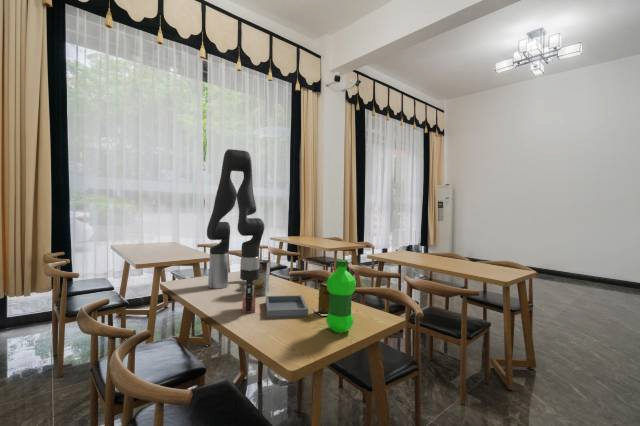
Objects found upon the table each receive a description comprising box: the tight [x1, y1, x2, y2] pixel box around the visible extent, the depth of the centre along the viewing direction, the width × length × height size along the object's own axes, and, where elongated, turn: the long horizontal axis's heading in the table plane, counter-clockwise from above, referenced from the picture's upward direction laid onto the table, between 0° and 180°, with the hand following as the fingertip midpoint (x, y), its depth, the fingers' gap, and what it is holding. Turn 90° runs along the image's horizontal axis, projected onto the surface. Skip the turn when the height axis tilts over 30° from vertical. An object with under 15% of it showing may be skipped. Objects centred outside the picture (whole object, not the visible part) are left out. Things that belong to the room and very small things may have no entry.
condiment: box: [313, 281, 330, 318], centre depth 126 cm, size 7×8×12 cm
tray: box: [265, 294, 309, 319], centre depth 129 cm, size 16×18×3 cm
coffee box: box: [253, 259, 271, 297], centre depth 149 cm, size 9×6×16 cm
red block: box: [241, 293, 256, 314], centre depth 126 cm, size 5×5×6 cm
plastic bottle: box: [325, 259, 357, 333], centre depth 110 cm, size 10×10×25 cm
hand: (248, 308), depth 126 cm, fingers closed on red block, 5 cm apart
